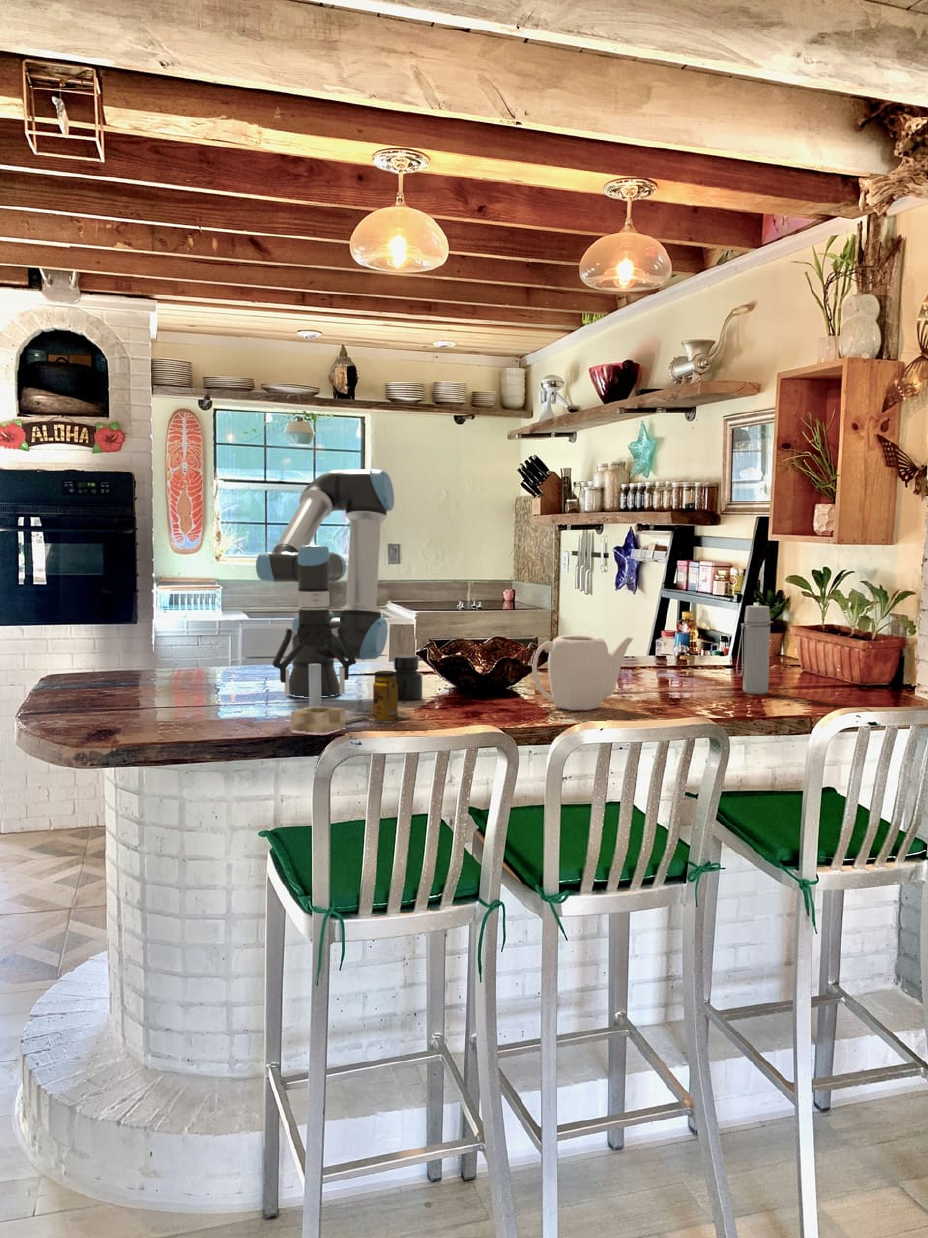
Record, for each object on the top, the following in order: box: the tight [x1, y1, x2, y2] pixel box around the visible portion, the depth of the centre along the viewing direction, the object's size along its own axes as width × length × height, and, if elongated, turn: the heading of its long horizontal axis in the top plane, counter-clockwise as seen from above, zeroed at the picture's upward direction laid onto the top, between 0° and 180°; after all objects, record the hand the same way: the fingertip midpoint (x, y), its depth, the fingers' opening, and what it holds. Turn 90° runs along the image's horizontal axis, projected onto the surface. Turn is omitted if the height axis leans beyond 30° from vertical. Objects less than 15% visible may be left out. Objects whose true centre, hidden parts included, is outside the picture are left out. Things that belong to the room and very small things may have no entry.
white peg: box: [308, 664, 322, 707], centre depth 238 cm, size 3×3×14 cm
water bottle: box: [735, 605, 772, 695], centre depth 277 cm, size 9×8×25 cm
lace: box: [345, 715, 367, 723], centre depth 236 cm, size 10×1×1 cm, turn 143°
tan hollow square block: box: [290, 705, 346, 733], centre depth 226 cm, size 9×9×5 cm
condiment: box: [368, 670, 409, 724], centre depth 240 cm, size 7×8×12 cm
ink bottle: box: [393, 654, 423, 702], centre depth 268 cm, size 10×9×12 cm
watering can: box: [531, 634, 634, 711], centre depth 255 cm, size 16×27×19 cm, turn 91°
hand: (314, 694), depth 237 cm, fingers open, 13 cm apart
